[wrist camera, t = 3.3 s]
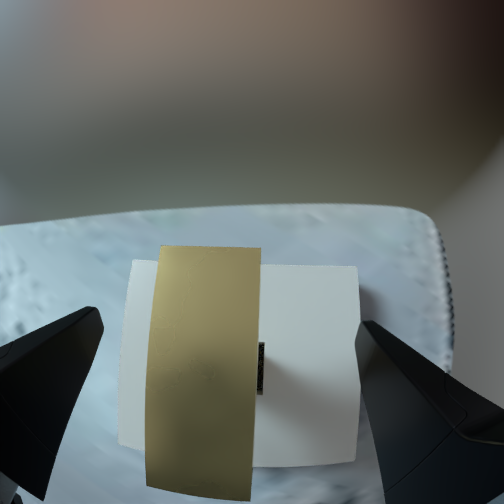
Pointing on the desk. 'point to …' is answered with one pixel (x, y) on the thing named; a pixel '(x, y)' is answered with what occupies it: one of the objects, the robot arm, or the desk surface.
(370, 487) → the desk surface
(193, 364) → the t key
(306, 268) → the cover plate
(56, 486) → the desk surface
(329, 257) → the desk surface
